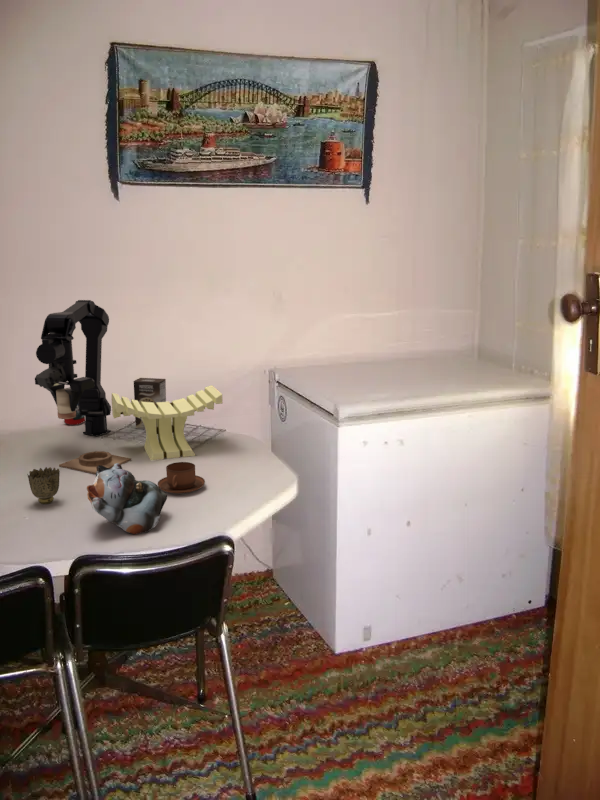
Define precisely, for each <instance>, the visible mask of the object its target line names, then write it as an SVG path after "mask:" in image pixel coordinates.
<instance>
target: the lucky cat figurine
mask: <svg viewBox="0 0 600 800" xmlns="http://www.w3.org/2000/svg"><path fill="white" fill-rule="evenodd" d="M96 468H97V472H96V475H95V478H94V481H93V483H92V484H91V485H90V484H89V485H87V486H86V490H87V494H86V496H87V499H88V501H89V502H90V504H91V508H92V510H94V511H95V512H96V513H97V514H98V515H99V516H101V517H103V518H104V519H106V521H107V522H109V523H111V524H113V525H115V526H117V527H119V528H121V529H122V530H123V531H125V532H127V533H128V534H131V535H138V534H144V533H148V532H150V530H152V529H155V527H156V526H157V525H158V523H159V522H160V521H161V513H162V510H163V508H164V505H165V504H166V501H167V499H168V494H167V492H165V491H163V490H161V489H160V488H159V487H158V484H156V483H155V482H154V481H152V480H151V481H150V480H137V479H136V477H135V475H134V474H133V473H132V472H130V471H129V470H126V469H123V467H122V465H120V464H119V463H116V464H114V466H113V467H112V469H110V468H107V467H104V466H102V465H101V466H100V465H99V466H97V467H96Z"/></svg>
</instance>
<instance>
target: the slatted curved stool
mask: <svg viewBox="0 0 600 800" xmlns="http://www.w3.org/2000/svg"><path fill="white" fill-rule="evenodd" d="M223 403H224V402H223V393H222V392H221V391H219V390H218V389H217V388H216V387H215V386H214V385H208V386H206V387H204V390H203V389H200V390H198V391H195V393H194V394H193V393H192V394H190V395H187V396H186V398H185V397H183V398H179V399H178V398H177V399H174V400H171V402H170V401H166V402H156V404H154V403H153V402H141V405H140V404H139V402H138V400H134V398H133V399H129V397H126V396H122V395H121V396H120V395H119V394H118V393H115V392H112V393H111V414H112V418H113V419H118V418H121V415H123V417H130V416H131V415H132V416H133V417H134V418H135V417H138V418H140V417H141V419H142V421H143V423H144V426H145V429H144V430H145V433H146V435H145V436H146V437H145V441H144V450H145V452H146V454H147V456H148V458H149V460H150V461H157V460H158V461H159V460H164V459H167V460H168V459H176V458H177V459H179V458H181V457H183V458H186V457H187V458H188V457H196V454H195V452H194V451H193V449H192V448H191V446H190V444H189V442H188V440H187V439H186V437H185V434H184V433H185V432H184V429H185V425H186V422H187V420H188V417H192V416H193V417H194V416H195V412H197V413H200V412H205V410H206V409H208V410H212V411H213V410H215V405H221V404H223ZM156 419H157V427H156Z"/></svg>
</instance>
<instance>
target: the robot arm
mask: <svg viewBox="0 0 600 800" xmlns="http://www.w3.org/2000/svg"><path fill="white" fill-rule="evenodd" d="M109 322H110V318H109V315H108V313H107V312H106V310H105V309H104V308H103V307H101V306H99V305H97V304H95V302H94V301H93V300H91V299H78V300H76V301H75V303H73V304H72V305H71V306H69V307H68V308H66V309H65V310H63V311H58V312H53V313H49V314H47V315H46V318H45V319H44V323H43V328H42V332H41V335H40V340H41V344H40V345H39V346H37V348H36V351H35V356H36V359H38V361H39V362H40V363H42V364H44V365H48V368H46V369H44V370H42V372H40V373H37V374H36V376H35V377H34V384H35V385H37V386H39V388H43V389H46V390H47V391H49V393H50V394H51V396H52V398H53V401H54V403H55V405H56V406H57V397H56V390H58V389H65V388H66V387H65V385H66V386H69V387H70V389H67V390H65V391H66V392H67V393H68V394H69V400H70V407H71V411H72V412H73V411H75V409H76V407H77V405H78V408H79V412H80V416H85V421H84V427H85V430H84V431H82V434H84V435H88V436H94V437H99V436H102V435H105V434H107V433H110V432H112V430H111V429H109V428H108V422H107V416H111V414H112V405H111V404H110V402H109V401H108V399H107V398H106V397H107V396H106V391H105V389H104V388H103V386H102V383H101V381H102V380H101V379H102V377H101V376H102V345H103V344H102V343H103V342H102V340H103V338H104V337H105V335H106V334H107V332H108V325H109V324H110V323H109ZM77 323H79V324H80V329H81V331H82V333H83V335H84V337H85V366H84V367H85V373H84V376H81V377H79V378H78V373H75V367H74V365H76V364H77V360H76V359H74V355H73V341H72V340H74V339H75V337H74V336H73V334H74V331H75V330H76V324H77Z"/></svg>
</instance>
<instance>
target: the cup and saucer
mask: <svg viewBox="0 0 600 800" xmlns="http://www.w3.org/2000/svg"><path fill="white" fill-rule="evenodd" d="M165 468H166V477H163V478H161V479H160V480H158V481H157V486H158V487H159V488H160V489H161V491H162V492H164V493H169V494H175V495H176V494H179V495H180V494H181V495H182V494H188V493H190V494H191V493H193V492H196V491H198V490H200V489H202V488H203V486H204V485H205V483H206V481H205V478H204V477H202V476H199V475H196V464H194V463H192V462H188V461H187V462H186V461H177V462H173V463H172V462H171V463H169V464H167V465H166V467H165Z"/></svg>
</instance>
